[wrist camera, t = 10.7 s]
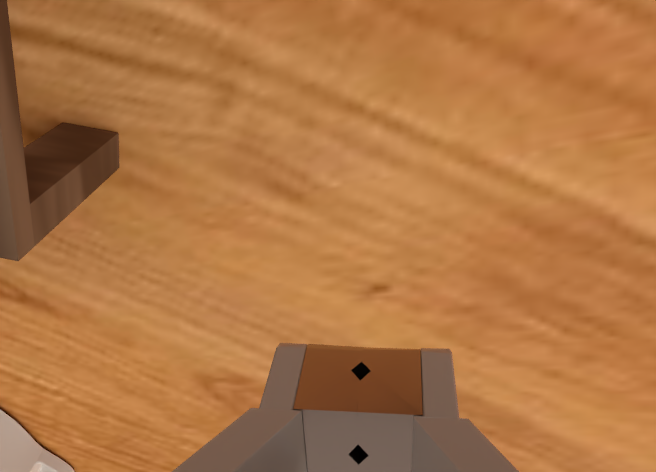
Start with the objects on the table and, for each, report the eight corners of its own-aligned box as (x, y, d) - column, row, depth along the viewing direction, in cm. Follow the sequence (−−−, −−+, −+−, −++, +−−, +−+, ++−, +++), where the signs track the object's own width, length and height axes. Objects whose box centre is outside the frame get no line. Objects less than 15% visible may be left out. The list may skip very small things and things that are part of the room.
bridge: (110, -160, 25) (-41, -191, 16) (119, 167, 32) (18, 261, 24) (40, -173, 25) (-146, -210, 17) (65, 157, 32) (-54, 247, 24)
